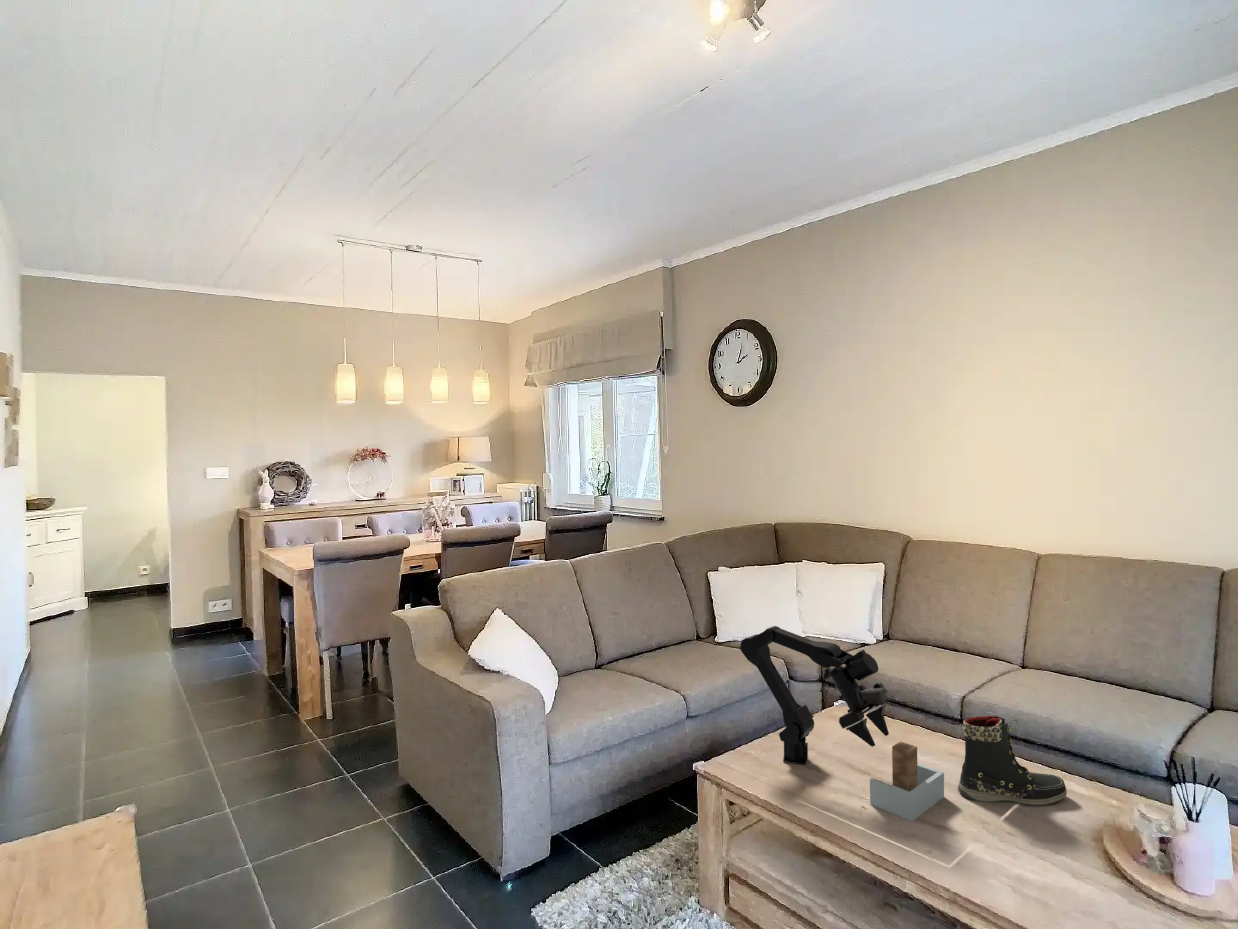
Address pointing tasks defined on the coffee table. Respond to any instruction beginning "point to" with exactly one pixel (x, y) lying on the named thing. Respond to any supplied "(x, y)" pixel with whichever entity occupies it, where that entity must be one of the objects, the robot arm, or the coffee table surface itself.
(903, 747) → the walnut block
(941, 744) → the coffee table surface
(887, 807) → the crate
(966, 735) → the boot
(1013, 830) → the coffee table surface
